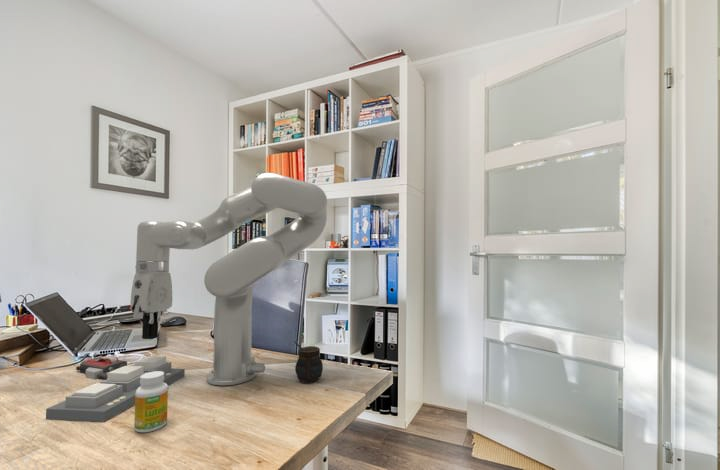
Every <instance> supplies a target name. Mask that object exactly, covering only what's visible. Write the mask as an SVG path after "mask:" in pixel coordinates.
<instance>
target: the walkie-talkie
mask: <svg viewBox="0 0 720 470" xmlns="http://www.w3.org/2000/svg"><path fill="white" fill-rule="evenodd" d="M123 366H128V361H127V360H121V359H119V358H118V357H117V356H114V355H106V356H103V355H99V356H97V357H93V358H91V359H86V360H83V361H81V363H80V365H78V366H76V367H75V370H76V371H79V373H83V374H85V378H87V379H93V380H97V379H102V378H103V379H107V373H109V372H111V371H113V370H116V369H118V368H121V367H123Z"/></svg>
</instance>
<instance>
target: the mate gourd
mask: <svg viewBox="0 0 720 470" xmlns="http://www.w3.org/2000/svg"><path fill="white" fill-rule="evenodd" d="M293 342H294V344H296V346H297V347H298V350H297V351H298V358H297V361H296V363H295V369H294V370H295V374H296V378H297V379H298V380H299V381H300V382H302V383H306V384H310V383H315V382H317V381H318V380H319V379H320V378H321V376H322V373H323V370H324V364H323V362H322V359H321V356H320V352H321V349H320V347H318V346H315V345H313V346H311V345H310V346H303V347H301V346H300V344H298V343H297V341H293Z"/></svg>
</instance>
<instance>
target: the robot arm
mask: <svg viewBox="0 0 720 470" xmlns="http://www.w3.org/2000/svg"><path fill="white" fill-rule="evenodd" d="M327 205H328V198H327V195H326V193H325V192H324V190H323V189H322V188H321V187H320V186H319V185H316V184H314V183H310V182H306V181H303V180H300V179H296V178H293V177H289V176H286V175H283V174H279V173H277V172H276V173H275V172H270V171H269V172H266V171H265V172H262V173H260V174H258V175H256V176H255V177H254V179H253V180H252V182H251V185H250V186H248V187H246V188H244V189H243V190H239V191H238V192H236V193H234V194H231V195H229V196H227V197H225V198H224V199H223V200H222V201H221V203H220V204H219V207H218V208H217V209H216V210H215V211H214V212H213V213H211V214H210V215H207V216H204V217H203V218H201V219H199V220H197V221H195V222H190V221H186V220H173V221H171V220H170V221H163V222H162V221H151V220H150V221H141V222H140V223H139V224H138V225H137V229H136V231H137V233H136V255H135V256H136V257H135V274H134V275H133V281H132V286H131V294H130V311H131V313H132V314H133V315H132V319H137V320H139V321H140V324H141V325H142V334H141V337H142V339H143V340H154V339H157V338H159V323H160V321H161V317H162V315H164V314H165V313H166V312H167V311H168V310H169V309H171V307H172V306H173V283H172V282H173V281H172V275H171V272H169V271H170V252H171V251H170V249H177V250H198V249H200V248H202V247H205V246H207V245H209V244H211V243H213V242H216V241H218V240H219V239H221V238H223V237H225V236H227V235H229V234H230V233H232V232H233V231H235V230H237V229H238V228H239V227H241V226H243V225H245V224H247V223H249V222H251V221H253V220H255V219H257V218H260V217H262V216H264V215H266V214H268V213H269V212H272V211H274V210H276V209H278V208H279V209H282V210H285V211H289V212H293V213H297V214H298V215H297V217H296V218H295V219H294V220H293V221H291V222H290V223H287V224H285V225H284V226H283V227H281V228H280V229H279V230H277V231H275V232H274V233H271V234H269V235H268V236H267V235H263V236H262V235H261V236H257V237H254V238H252V239H250V240H249V241H246V242H244V244H242V245H240V246H239V247H237V248H236V249H234V250H232V251H231V252H229V253H227V254H226V255H224V256H223V257H221V258H220V259H218V260H216V261H215V262H213V263H212V264H211V265H210V266H209V267H208V268H207V270H206V272H205V274H204V281H203V282H204V287H205V289H206V290H207V292H208V293H209V294H211V295H212V296H213V297H215V300H214V311H213V313H214V318H213V319H214V320H213V367H212V368H213V369H212V370H213V371H210V372H209V373H208V374H207V375H206V381H207V383H208V384H210V385H213V386H233V385H238V384H242V383H246V382H249V381H251V380H253V379H255V378H256V376H257V375H258V373H260V374H261V373H262V374H264V372H265V370H266V366H265V362H256V357H255V356H252V327H253V326H252V323H253V322H252V317H253V293H254V284H255V283H257V282H259V280H261V279H262V278H264V277H266V276H267V275H269V274H270V273H273V272H274V271H277V269H279V268H280V267H281V266H282V265H284V264H285V263H286V262H287V261H289V260H291V259H293V258H294V257H295V256H296V255H298V254H300V253H301V252H302V251H304V250H305V249H307V248H308V247H310V246H311V245H312V244H314V243H316V241H317V240H318V239H319V238H320V237H321V235H322V234H323V232H324V229H325V228H326V224H327V218H328V217H327Z"/></svg>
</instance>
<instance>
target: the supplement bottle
mask: <svg viewBox="0 0 720 470" xmlns="http://www.w3.org/2000/svg"><path fill="white" fill-rule="evenodd" d="M163 381H164V372H162V371H154V372H148V373H145V374H143V375H141V376H140V385H141V386H140V387H139V388H138V389H137V390H136V393H135V405H134V425H133V426H134V427H133V428H134V430H135V432H137V433H149V432H150V433H151V432H153V431H157V430H160V429H161V428H163V427H164V426H165V425H167V423H168V403H169V402H168V399H169V398H168V397H169V395H168V394H169V385H167V384H166V383H164V382H163Z"/></svg>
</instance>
